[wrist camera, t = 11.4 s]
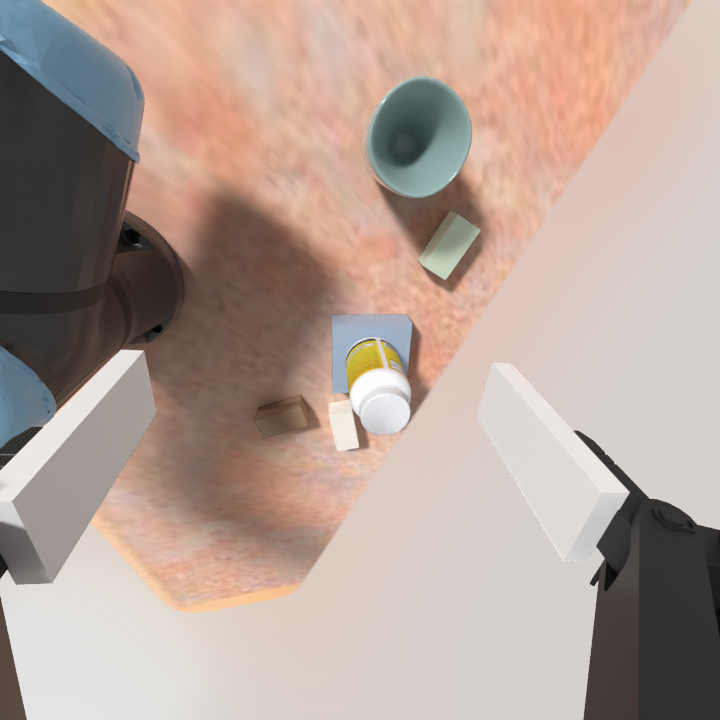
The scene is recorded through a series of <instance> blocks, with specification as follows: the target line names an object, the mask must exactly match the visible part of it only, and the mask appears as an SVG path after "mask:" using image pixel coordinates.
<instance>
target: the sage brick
mask: <svg viewBox="0 0 720 720" xmlns="http://www.w3.org/2000/svg"><path fill="white" fill-rule="evenodd" d="M480 231H481V230H480V229H479V228H477V227H476V226H474V225H473V224H472V223H470V222H469V221H467V220H466V219H465V218H463V217H462V216H460V215H459V214H457V213H454V212H452V211H449V213H448V214H447V216H446V217H445V219H444V220H443V222H442V223H441V225H440V226H439V228H438V229H437V231H436V232H435V234H434V235H433V237H432V238H431V240H430V241H429V243H428V244H427V246H426V248H425V249H424V251H423V252H422V254H421V255H420V257H419V258H418V261H419V262H420V263H421V264H422V266H423V267H425V268H427V269H428V270H430V271H431V272H433V273H435V274H436V275H438V276H439V277H441V278H443V279H444V280H446V279H447V277H448V276H449V275H450V273H451V272H452V270H453V269H454V268H455V266H456V265H457V263H458V262H459V260H460V259H461V258H462V256H463V255H464V253H465V252H466V251H467V249H468V248H469V246H470V245H471V244H472V242H473V241H474V239H475V238H476V236H477V235H478V234H479V232H480Z"/></svg>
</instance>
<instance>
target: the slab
mask: <svg viewBox="0 0 720 720" xmlns="http://www.w3.org/2000/svg"><path fill="white" fill-rule="evenodd" d="M411 333H412V322H411V321H410V319H409V317H408V315H407V314H382V315H332V383H333V393H349V390H348V382H347V375H346V367H345V359H346V355H347V352H348V350H349V349H350V348H351V346H352V345H353V344H354V343H356V342H357V341H359V340H360V339H363V338H366V337H379V338H383V339H385V340H387V341H388V342H390V343H391V344H392V345H393V346H394V348H395V350H396V352H397V354H398V356H399V359H400V362H401V364H402V366H403V369H404V372H405V374H406V377H407V374H408V364H409V353H410V343H411Z"/></svg>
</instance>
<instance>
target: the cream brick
mask: <svg viewBox="0 0 720 720" xmlns="http://www.w3.org/2000/svg"><path fill="white" fill-rule="evenodd" d="M329 418H330V423H331V427H332V431H333V435H334V440H335V444H336V448H337V451H342V450H348V449H354V448H359V442H358V434H357V429H356V423H355V418H354V413H353V408H352V406H351V403H350V400H344V401H339V402H333V403H329Z"/></svg>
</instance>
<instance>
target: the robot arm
mask: <svg viewBox="0 0 720 720" xmlns="http://www.w3.org/2000/svg"><path fill="white" fill-rule="evenodd" d="M144 105H145V103H144V94H143V90H142V87H141V84H140V82H139V80H138V78H137V77H136V75H135V74H134V72H133V71H132V69H131V68H130V67H129V66H128V65H127V64H126V63H125V62H124V61H123V60H122V59H121V58H120V57H119V56H117V55H116V54H115V53H114V52H112V51H111V50H110V49H108V48H107V47H106V46H104V45H103V44H102V43H100V42H99V41H97V40H96V39H95V38H93V37H92V36H91V35H89V34H88V33H86V32H85V31H84V30H82V29H81V28H79V27H78V26H76V25H75V24H74V23H72V22H71V21H69V20H68V19H67V18H65V17H64V16H62V15H61V14H59V13H58V12H57V11H55V10H54V9H52V8H51V7H49V6H48V5H46V4H45V3H44V2H42V1H41V0H0V578H1V577H2V576H3V574H4V573H5V572H6V570H8V571H9V573H10V575H11V577H12V578H13V580H14V582H15V584H42V583H52V582H53V581H54V579H55V577H56V576H57V574H58V573H59V571H60V570H61V568H62V566H63V565H64V563H65V561H66V560H67V558H68V557H69V555H70V553H71V551H72V550H73V548H74V547H75V545H76V544H77V542H78V540H79V539H80V537H81V535H82V534H83V532H84V531H85V529H86V527H87V526H88V524H89V522H90V521H91V519H92V518H93V516H94V514H95V513H96V511H97V509H98V508H99V506H100V505H101V503H102V501H103V500H104V498H105V496H106V495H107V493H108V492H109V490H110V488H111V487H112V485H113V484H114V482H115V480H116V479H117V477H118V475H119V474H120V472H121V471H122V469H123V467H124V466H125V464H126V462H127V461H128V459H129V458H130V456H131V454H132V453H133V451H134V449H135V448H136V446H137V445H138V443H139V441H140V440H141V438H142V436H143V435H144V433H145V432H146V430H147V428H148V427H149V425H150V423H151V422H152V420H153V419H154V417H155V415H156V414H157V412H156V407H155V402H154V397H153V392H152V387H151V382H150V377H149V372H148V367H147V362H146V357H145V352H144V350H130V349H133V348H137V347H140V346H143V345H145V344H147V343H149V342H151V341H153V340H155V339H156V338H158V337H159V336H160V335H161V334H162V333H164V332H165V330H166V329H167V328H168V327H169V326H170V325H171V324H172V323H173V322H174V320H175V319H176V317H177V316H178V314H179V312H180V309H181V306H182V303H183V297H184V283H183V277H182V273H181V269H180V266H179V264H178V261H177V259H176V257H175V255H174V254H173V252H172V250H171V249H170V247H169V246H168V244H167V243H166V242H165V240H164V239H163V238H162V237H161V236H160V235H159V234H158V233H157V232H156V231H155V230H154V229H153V228H152V227H151V226H150V225H149V224H147V223H146V222H145V221H143V220H142V219H140V218H139V217H137V216H136V215H134V214H132V213H131V212H129V211H127V210H125V209H126V204H127V200H128V195H129V191H130V186H131V182H132V177H133V173H134V168H135V164H136V163H138V164H139V161H140V155H139V153H138V151H137V150H138V143H139V137H140V131H141V124H142V118H143V112H144ZM116 353H117V354H116ZM115 354H116V355H115ZM114 355H115V356H114ZM113 356H114V357H113ZM112 357H113V358H112ZM111 358H112V359H111ZM110 359H111V360H110ZM109 360H110V361H109ZM108 361H109V362H108ZM107 362H108V363H107ZM106 363H107V364H106ZM105 364H106V365H105ZM104 365H105V366H104ZM103 366H104V367H103ZM102 367H103V368H102ZM101 368H102V369H101ZM99 369H101V370H100V371H99V372H98V373H97V374H96V375H95V376H94V377H93V378H92V379H91V380H90V381H89V382H88V383H87V384H86V385H85V386H84V387H83V388H82V389H81V390H80V391H79V392H78V393H77V394H76V395H75V396H74V397H73V398H72V399H71V400H70V401H69V402H68V403H67V404H66V405H65V406H64V407H63V408H62V409H61V410H60V411H59V412H58V413H57V414H56V415H55V416H54V413H55V412H56V411H57V410H58V409H59V408H60V407H62V406H63V405H64V404H65V403H66V402H67V401H68V400H69V399H70V398H71V397H72V396H73V395H74V394H75V393H76V392H77V391H78V390H79V389H80V388H81V387H82V386H83V385H84V384H85V383H86V382H87V381H88V380H89V379H90V378H91V377H92V376H93V375H94V374H95V373H96V372H97V371H98V370H99ZM476 418H477V420H478V421H479V423H480V425H481V426H482V428H483V430H484V431H485V433H486V435H487V436H488V438H489V440H490V441H491V443H492V445H493V446H494V448H495V450H496V451H497V453H498V455H499V456H500V458H501V460H502V461H503V463H504V465H505V466H506V468H507V470H508V471H509V473H510V475H511V476H512V478H513V479H514V481H515V483H516V484H517V486H518V488H519V489H520V491H521V492H522V494H523V496H524V498H525V499H526V501H527V503H528V504H529V506H530V508H531V509H532V511H533V512H534V514H535V516H536V518H537V519H538V521H539V523H540V524H541V526H542V528H543V529H544V531H545V533H546V534H547V536H548V538H549V539H550V541H551V542H552V544H553V546H554V547H555V549H556V551H557V552H558V554H559V556H560V557H561V559H562V561H563V562H579V561H588V560H589V559H590V557H591V555H592V554H593V552H594V551H595V549H596V547H597V548H598V549H599V551H600V552H601V553H602V555H603V556H604V558H605V559H604V561H603V563H602V564H601V566H600V567H599V569H598V570H597V572H596V574H595V575H594V577H593V578H592V580H591V582H590V584H591V585H592V586H595V584H596V582H597V581H599V583H598V592H597V602H596V610H595V620H594V629H593V638H592V647H591V656H590V665H589V674H588V684H587V693H586V702H585V711H584V720H720V530H717V529H713V528H708V527H704V526H700V525H697V524H696V523H695V522H694V521H693V520H692V518H691V517H690V516H688V515H687V514H686V513H684V512H683V511H681V510H680V509H679V508H677V507H675V506H673V505H671V504H669V503H667V502H663V501H660V500H657V499H649V498H648V497H647V496H646V495H645V494H644V493H643V491H642V490H641V489H640V488H639V487H638V486H637V485H636V484H635V483H634V482H633V481H632V480H631V479H630V478H629V477H628V476H627V475H626V474H625V473H624V472H623V471H622V470H621V469H620V468H619V467H618V466H617V465H615V464H614V461H612V459H611V458H610V457H609V456H608V455H605V452H604V451H603V450H602V449H601V448H600V447H599V446H598V445H597V444H596V443H595V442H594V441H593V440H591V439H590V438H589V437H587V436H586V435H584V434H583V433H581V432H579V431H573V430H572V429H571V428H570V427H569V426H568V425H567V424H566V423H565V422H564V421H563V419H562V418H561V417H560V416H559V415H558V414H557V413H556V412H555V411H554V410H553V409H552V408H551V407H550V406H549V404H548V403H547V402H546V401H545V400H544V399H543V398H542V397H541V396H540V395H539V393H538V392H537V391H536V390H535V389H534V388H533V387H532V386H531V385H530V384H529V383H528V382H527V380H525V378H524V377H523V376H522V375H521V374H520V373H519V372H518V371H517V370H516V369H515V367H514V366H513V365H512V364H511V363H492V367H491V370H490V373H489V377H488V380H487V383H486V387H485V390H484V393H483V397H482V400H481V404H480V407H479V411H478V414H477V417H476ZM46 423H47V424H46ZM44 424H46V425H45V426H44V427H41V426H43V425H44ZM0 720H27V719H26V715H25V710H24V706H23V701H22V696H21V692H20V687H19V682H18V677H17V673H16V668H15V664H14V659H13V654H12V650H11V645H10V640H9V635H8V631H7V626H6V621H5V616H4V612H3V607H2V603H1V598H0Z"/></svg>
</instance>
